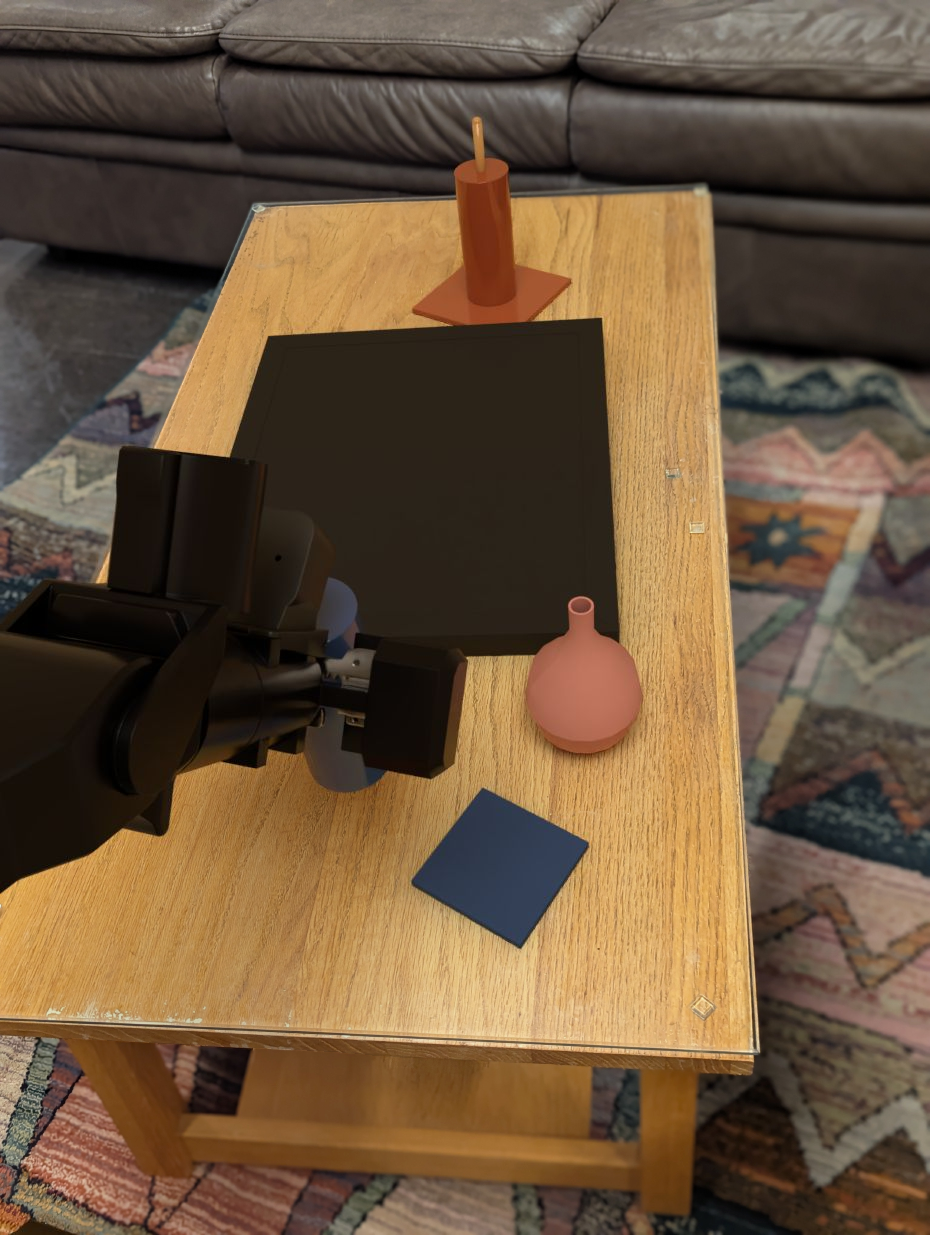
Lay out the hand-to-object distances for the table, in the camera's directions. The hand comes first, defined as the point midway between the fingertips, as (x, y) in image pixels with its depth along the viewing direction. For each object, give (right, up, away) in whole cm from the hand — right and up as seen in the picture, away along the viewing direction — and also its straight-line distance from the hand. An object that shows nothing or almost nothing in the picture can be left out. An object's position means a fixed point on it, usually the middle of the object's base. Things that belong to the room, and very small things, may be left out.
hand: (340, 670), depth 61 cm
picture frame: (+3, +15, +32) cm, 35 cm away
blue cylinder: (0, -5, +4) cm, 7 cm away
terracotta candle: (+10, +37, +50) cm, 63 cm away
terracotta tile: (+10, +36, +51) cm, 63 cm away
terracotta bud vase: (+15, -4, +12) cm, 20 cm away
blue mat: (+9, -12, +6) cm, 17 cm away
